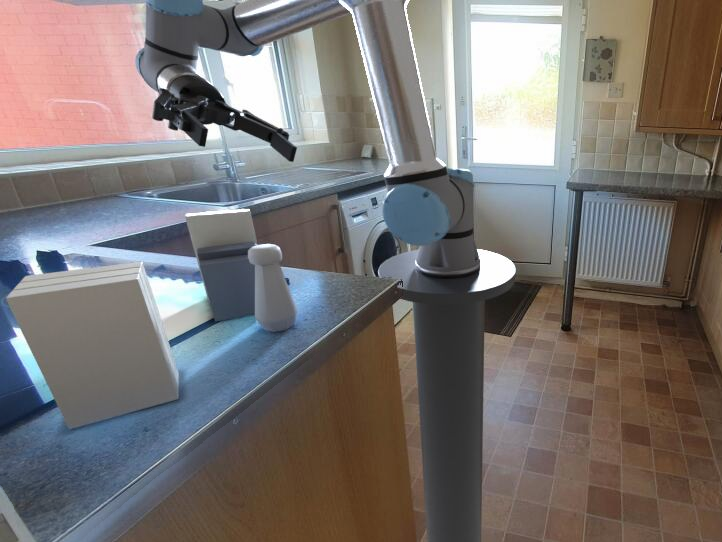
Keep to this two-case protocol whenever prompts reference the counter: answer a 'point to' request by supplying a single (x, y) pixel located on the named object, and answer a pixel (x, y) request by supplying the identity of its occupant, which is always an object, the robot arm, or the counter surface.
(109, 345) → the white books
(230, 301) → the grey upright block
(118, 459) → the counter surface
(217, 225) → the white book
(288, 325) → the salt shaker
